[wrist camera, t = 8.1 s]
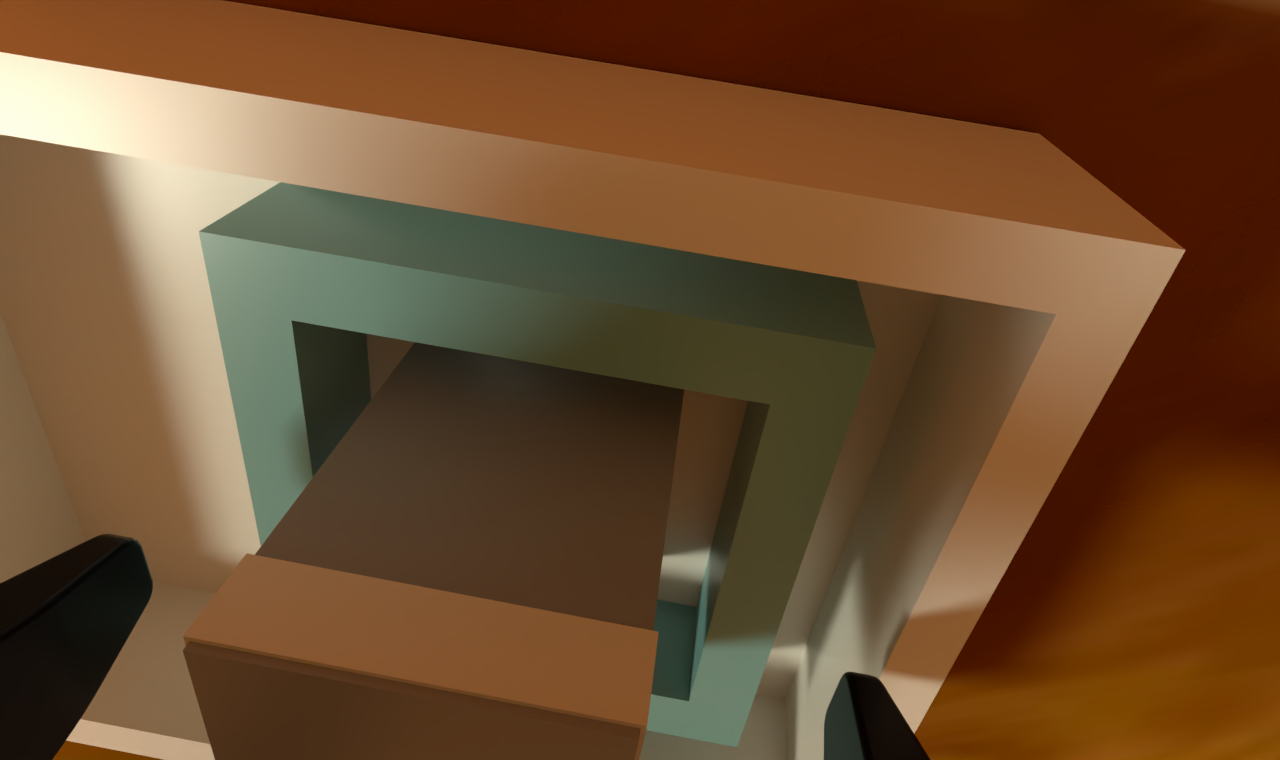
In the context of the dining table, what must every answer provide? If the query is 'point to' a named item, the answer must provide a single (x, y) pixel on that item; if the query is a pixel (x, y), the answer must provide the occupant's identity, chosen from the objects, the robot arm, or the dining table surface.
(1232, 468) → the dining table surface
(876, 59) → the dining table surface
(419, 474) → the square block
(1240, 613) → the dining table surface
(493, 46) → the walled box
